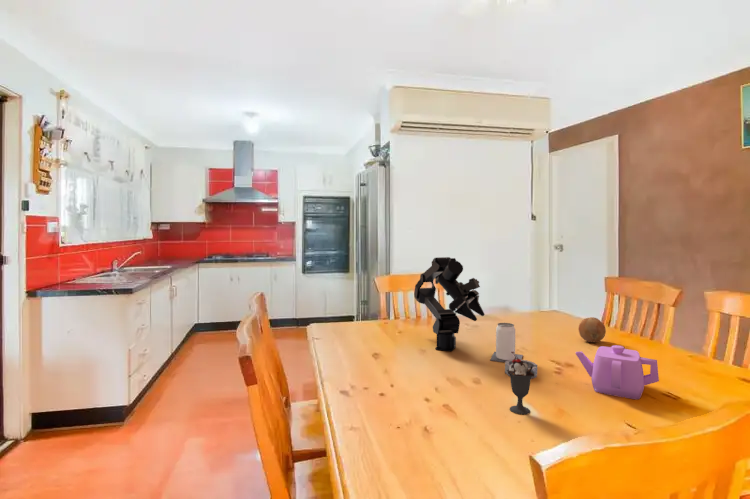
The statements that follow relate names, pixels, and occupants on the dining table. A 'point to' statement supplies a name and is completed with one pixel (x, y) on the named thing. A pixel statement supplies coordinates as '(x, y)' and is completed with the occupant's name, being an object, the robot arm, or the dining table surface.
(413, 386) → the dining table surface
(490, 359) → the mat
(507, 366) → the holder
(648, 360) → the teakettle
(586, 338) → the coconut
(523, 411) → the sundae
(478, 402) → the dining table surface
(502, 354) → the can
